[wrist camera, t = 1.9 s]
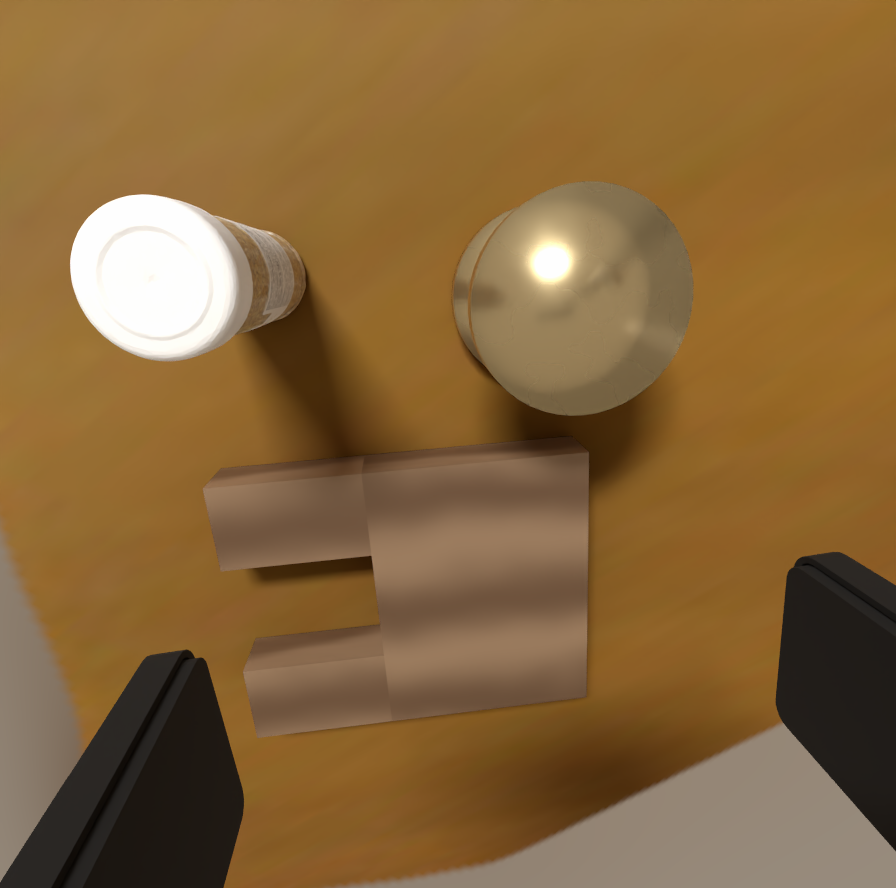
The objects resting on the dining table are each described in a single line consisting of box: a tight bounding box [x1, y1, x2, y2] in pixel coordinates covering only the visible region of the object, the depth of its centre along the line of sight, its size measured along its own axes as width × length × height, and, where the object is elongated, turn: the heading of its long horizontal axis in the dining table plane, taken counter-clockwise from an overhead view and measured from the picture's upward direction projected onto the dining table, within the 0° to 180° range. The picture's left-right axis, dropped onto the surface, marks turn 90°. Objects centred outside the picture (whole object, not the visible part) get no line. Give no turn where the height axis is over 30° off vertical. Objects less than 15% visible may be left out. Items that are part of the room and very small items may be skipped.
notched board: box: [203, 436, 589, 738], centre depth 32 cm, size 16×20×3 cm
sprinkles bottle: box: [70, 195, 306, 361], centre depth 22 cm, size 5×5×14 cm
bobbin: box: [452, 182, 693, 416], centre depth 26 cm, size 9×9×8 cm
